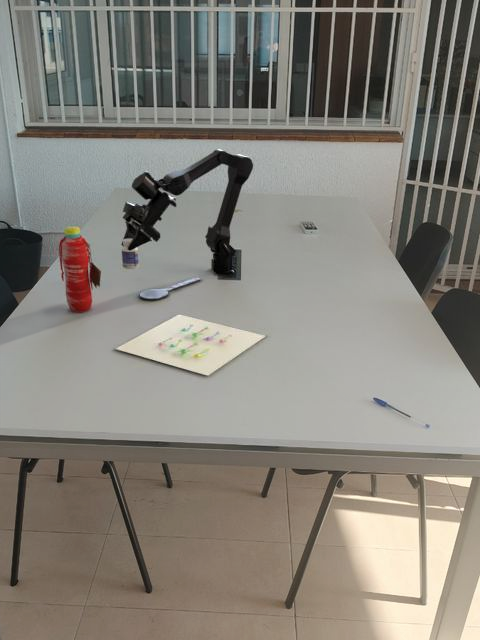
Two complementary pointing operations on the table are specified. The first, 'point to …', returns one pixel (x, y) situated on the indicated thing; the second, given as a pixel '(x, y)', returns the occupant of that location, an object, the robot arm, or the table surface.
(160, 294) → the spoon
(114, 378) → the table surface
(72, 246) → the water bottle
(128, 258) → the pill bottle
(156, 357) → the printed paper
